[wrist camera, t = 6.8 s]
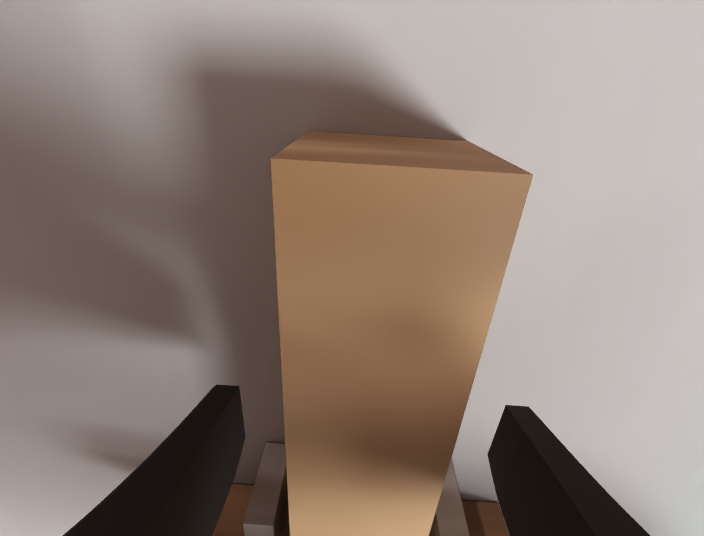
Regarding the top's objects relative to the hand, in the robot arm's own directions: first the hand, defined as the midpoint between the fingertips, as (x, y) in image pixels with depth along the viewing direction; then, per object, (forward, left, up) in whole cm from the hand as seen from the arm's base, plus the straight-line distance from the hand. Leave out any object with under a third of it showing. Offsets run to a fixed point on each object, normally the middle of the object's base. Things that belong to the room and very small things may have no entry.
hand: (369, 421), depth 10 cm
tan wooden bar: (0, 0, -3) cm, 3 cm away
